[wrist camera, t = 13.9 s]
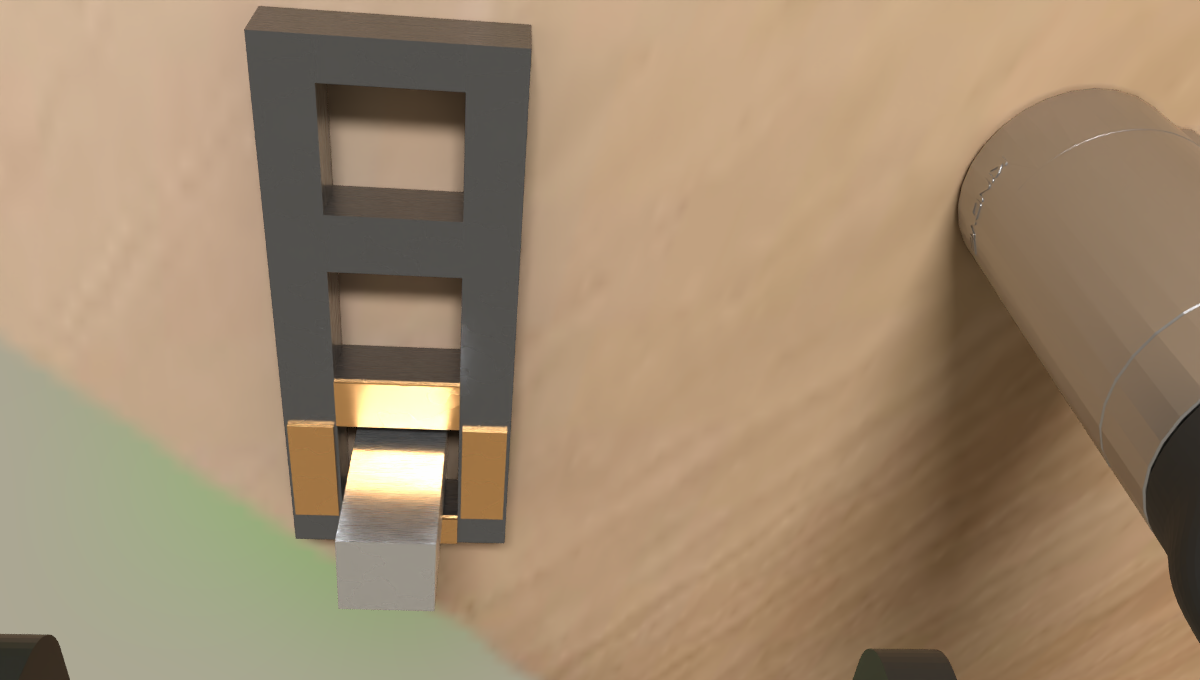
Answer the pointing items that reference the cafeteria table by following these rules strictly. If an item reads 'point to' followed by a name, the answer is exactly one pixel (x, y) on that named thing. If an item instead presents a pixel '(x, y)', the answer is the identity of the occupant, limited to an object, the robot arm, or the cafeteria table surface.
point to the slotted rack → (391, 250)
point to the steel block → (392, 520)
